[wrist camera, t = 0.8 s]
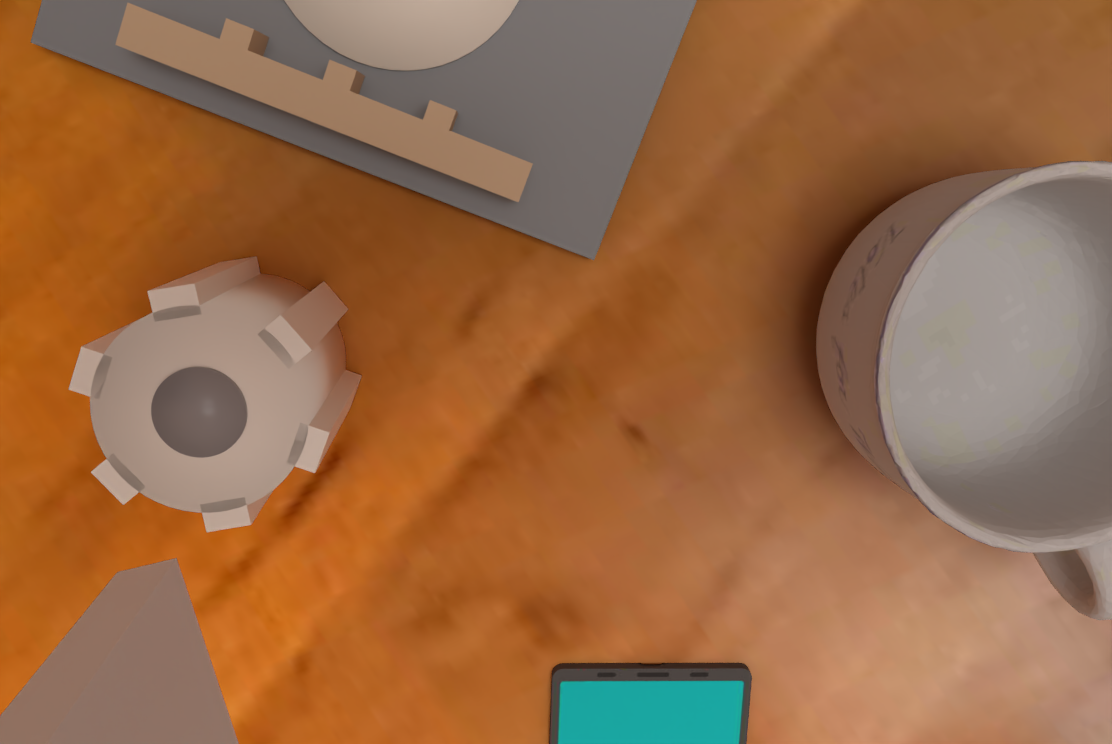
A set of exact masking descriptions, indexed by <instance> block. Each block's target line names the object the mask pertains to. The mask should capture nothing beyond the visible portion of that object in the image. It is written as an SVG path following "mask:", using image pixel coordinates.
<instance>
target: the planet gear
mask: <svg viewBox="0 0 1112 744" xmlns="http://www.w3.org/2000/svg"><path fill="white" fill-rule="evenodd" d="M147 292H148V296H149V300H150V304H151V308H152V312H153V313H151V314H148V315H147V316H145V317H143V318H141V319H139V320H137V321H135V322H132V323H130V324H128V325H126V326H124V327H122V328H120V329H118V330H116V331H113V332H111V333H109V334H107V335H105V336H103V337H101V338H99V339H96V340H94V341H92V342H90V343H88V344H86V345H84V346H82V347H81V350H80V353H79V356H78V359H77V363H76V366H75V369H74V373H73V376H72V379H71V382H70V386H69V390H72V391H74V392H77V393H80V394H83V395H86V396H89V397H90V411H91V419H92V424H93V429H94V432H95V435H96V438H97V441H98V443H99V445H100V447H101V449H102V451H103V453H104V455H105V457H106V458H107V459H106V460H105V461H103V462H102V463H101V464H100V465H98V466H97V467H96V468H95V469H94V470H92V471H91V473H92V474H93V475H94V476H95V477H96V478H97V479H98V480H99V481H100V482H101V483H102V484H103V485H104V486H105V487H106V488H107V489H108V490H109V491H110V492H111V493H112V494H113V495H114V496H115V497H116V498H117V499H118V500H119V501H120V502H121V503H122V504H123V505H124V504H125V503H126V502H128V501H129V500H130V499H131V498H133V497H134V496H135V495H136V494H137V493H139V492H140V493H141V494H143V495H144V496H146V497H148V498H150V499H152V500H154V501H156V502H158V503H161V504H163V505H166V506H168V507H171V508H175V509H179V510H183V511H190V512H198V513H202V515H203V519H204V524H205V528H206V532H212V531H218V530H224V529H230V528H236V527H242V526H248V525H251V524H252V523H253V521H254V520H255V518H256V517H257V515H258V513H259V512H260V510H261V509H262V507H263V506H264V504H265V503H266V501H267V499H268V498H269V496H270V495H271V493H272V492H273V490H274V489H275V488H276V487H277V486H278V485H279V484H280V483H281V482H283V481H284V479H285V478H286V477H287V476H288V475H289V473H290V472H291V471H292V469H293V468H294V466H295V467H298V468H301V469H304V470H307V471H310V472H313V473H316V471H317V469H318V467H319V465H320V463H321V461H322V460H323V458H324V456H325V454H326V452H327V450H328V448H329V447H330V445H331V443H332V441H333V439H334V437H335V435H336V434H337V432H338V430H339V428H340V426H341V424H342V423H343V421H344V419H345V417H346V415H347V413H348V411H349V410H350V407H351V405H352V402H353V399H354V396H355V394H356V391H357V388H358V385H359V382H360V380H361V377H362V375H359V374H356V373H353V372H351V371H348V370H346V351H345V344H344V340H343V337H342V333H341V331H340V329H339V326H338V324H337V322H338V321H339V319H340V318H341V317H342V316H343V315H344V314H345V313H346V312H347V311H348V308H347V307H346V306H345V305H344V303H343V302H342V301H341V300H340V299H339V298H338V297H337V295H336V294H335V293H334V292H333V291H332V290H331V288H330V287H329V286H328V285H327V284H326V283H325V282H322V283H321V284H320V285H318V286H317V287H316V288H315V289H313V290H312V291H311V292H310V291H309V290H308V289H306V288H304V287H302V286H301V285H299V284H297V283H295V282H293V281H291V280H288V279H285V278H282V277H279V276H275V275H269V274H260V269H259V264H258V260H257V256H255V257H249V258H243V259H236V260H230V261H224V262H219V263H216V264H214V265H211V266H209V267H206V268H204V269H201V270H199V271H196V272H194V273H191V274H189V275H186V276H184V277H181V278H179V279H176V280H174V281H171V282H169V283H166V284H164V285H161V286H159V287H156V288H154V289H151V290H149V291H147Z"/></svg>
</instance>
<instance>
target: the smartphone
mask: <svg viewBox="0 0 1112 744" xmlns="http://www.w3.org/2000/svg"><path fill="white" fill-rule="evenodd" d="M751 680H752V676H751V673H750V671H749V669H748V667H747V666H746V665H745V664H742V663H662V664H661V665H643V664H641V663H562V664H558V665H556V666H555V667H554V668H553V670H552V684H551V712H550V739H549V744H746V741H747V729H748V717H749V705H750V692H751Z"/></svg>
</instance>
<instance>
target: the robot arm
mask: <svg viewBox="0 0 1112 744" xmlns="http://www.w3.org/2000/svg"><path fill="white" fill-rule="evenodd" d="M0 744H238V740H237V737H236V734H235V731H234V728H233V725H232V722H231V719H230V716H229V713H228V710H227V707H226V704H225V701H224V698H223V696H222V693H221V690H220V687H219V684H218V681H217V678H216V675H215V672H214V669H213V666H212V663H211V660H210V657H209V654H208V651H207V648H206V645H205V642H204V639H203V636H202V633H201V630H200V627H199V624H198V621H197V618H196V615H195V612H194V609H193V606H192V603H191V600H190V597H189V594H188V591H187V588H186V585H185V582H184V579H183V576H182V573H181V570H180V567H179V564H178V561H177V558H175V559H171V560H167V561H162V562H158V563H154V564H150V565H145V566H141V567H137V568H133V569H128V570H124V571H120V572H117V573H116V574H115V576H114V577H113V578H112V579H111V580H110V582H109V583H108V584H107V585H106V587H105V588H104V589H103V590H102V592H101V593H100V594H99V595H98V596H97V598H96V599H95V600H94V601H93V603H92V604H91V605H90V606H89V608H88V609H87V610H86V611H85V612H84V614H83V615H82V616H81V617H80V619H79V620H78V621H77V622H76V623H75V625H74V626H73V627H72V628H71V630H70V631H69V632H68V633H67V635H66V636H65V637H64V638H63V639H62V641H61V642H60V643H59V644H58V646H57V647H56V648H55V649H54V650H53V652H52V653H51V654H50V655H49V657H48V658H47V659H46V660H45V662H44V663H43V664H42V665H41V666H40V668H39V669H38V670H37V671H36V673H35V674H34V675H33V676H32V678H31V679H30V680H29V681H28V682H27V684H26V685H25V686H24V687H23V689H22V690H21V691H20V692H19V693H18V695H17V696H16V697H15V698H14V700H13V701H12V702H11V703H10V705H9V706H8V707H7V708H6V709H5V711H4V712H3V713H2V714H1V716H0Z"/></svg>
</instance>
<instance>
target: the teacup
mask: <svg viewBox="0 0 1112 744" xmlns="http://www.w3.org/2000/svg"><path fill="white" fill-rule="evenodd" d="M816 357H817V365H818V372H819V377H820V381H821V386H822V389H823V392H824V395H825V398H826V401H827V404H828V406H829V408H830V410H831V413H832V415H833V417H834V418H835V420H836V422H837V423H838V425H839V427H840V428H841V430H842V432H843V433H844V435H845V436H846V437H847V439H848V440H849V441H850V442H851V444H852V445H853V446H854V447H855V448H856V450H857V451H858V452H859V453H860V454H861V455H862V456H863V457H864V458H865V459H866V460H867V461H868V462H869V463H870V464H871V465H873V466H874V467H875V468H876V469H877V470H878V471H880V472H881V473H882V474H883V475H884V476H886V477H887V478H888V479H890V480H891V481H892V482H894V483H895V484H896V485H898V486H899V487H901V488H902V489H903V490H905V491H906V492H908V493H909V494H911V495H912V496H914V497H915V498H917V499H918V500H919V501H920V502H921V503H922V504H923V505H924V506H925V507H926V508H927V509H928V510H929V511H930V512H931V513H932V514H933V515H935V516H936V517H938V518H939V519H941V520H942V521H944V522H945V523H946V524H948V525H949V526H951V527H953V528H954V529H956V530H957V531H959V532H961V533H962V534H964V535H966V536H968V537H970V538H972V539H974V540H977V541H979V542H981V543H984V544H987V545H990V546H993V547H997V548H1003V549H1006V550H1010V551H1014V552H1030V553H1033V554H1034V556H1035V558H1036V559H1037V561H1038V563H1039V565H1040V566H1041V568H1042V569H1043V571H1044V573H1045V574H1046V576H1047V578H1048V579H1049V581H1050V583H1051V584H1052V585H1053V586H1054V588H1055V589H1056V590H1057V591H1058V592H1059V594H1060V595H1061V596H1062V597H1063V598H1064V600H1066V601H1067V602H1068V603H1069V604H1070V605H1071V606H1072V607H1073V608H1074V609H1076V610H1077V611H1078V612H1079V613H1081V614H1084V615H1086V616H1088V617H1090V618H1093V619H1097V620H1109V619H1112V162H1106V161H1095V162H1092V161H1068V162H1061V163H1054V164H1048V165H1044V166H1040V167H1036V168H1018V169H1003V170H994V171H985V172H978V173H972V174H966V175H961V176H956V177H952V178H949V179H946V180H943V181H939V182H936V183H933V184H930V185H928V186H926V187H924V188H921V189H919V190H917V191H915V192H913V193H911V194H909V195H907V196H905V197H903V198H902V199H900V200H899V201H897V202H896V203H894V204H892V205H891V206H890V207H888V208H887V209H886V210H884V211H883V212H882V213H880V214H879V215H878V216H877V217H876V218H875V219H873V220H872V221H871V222H870V223H869V224H868V225H867V226H866V227H865V228H864V229H863V230H862V231H861V232H860V233H859V234H858V235H857V237H856V238H855V239H854V241H853V242H852V243H851V244H850V246H849V247H848V248H847V250H846V251H845V253H844V255H843V256H842V258H841V260H840V261H839V263H838V265H837V266H836V268H835V270H834V272H833V274H832V276H831V279H830V281H829V283H828V286H827V288H826V291H825V293H824V297H823V301H822V305H821V309H820V313H819V319H818V324H817V336H816Z"/></svg>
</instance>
